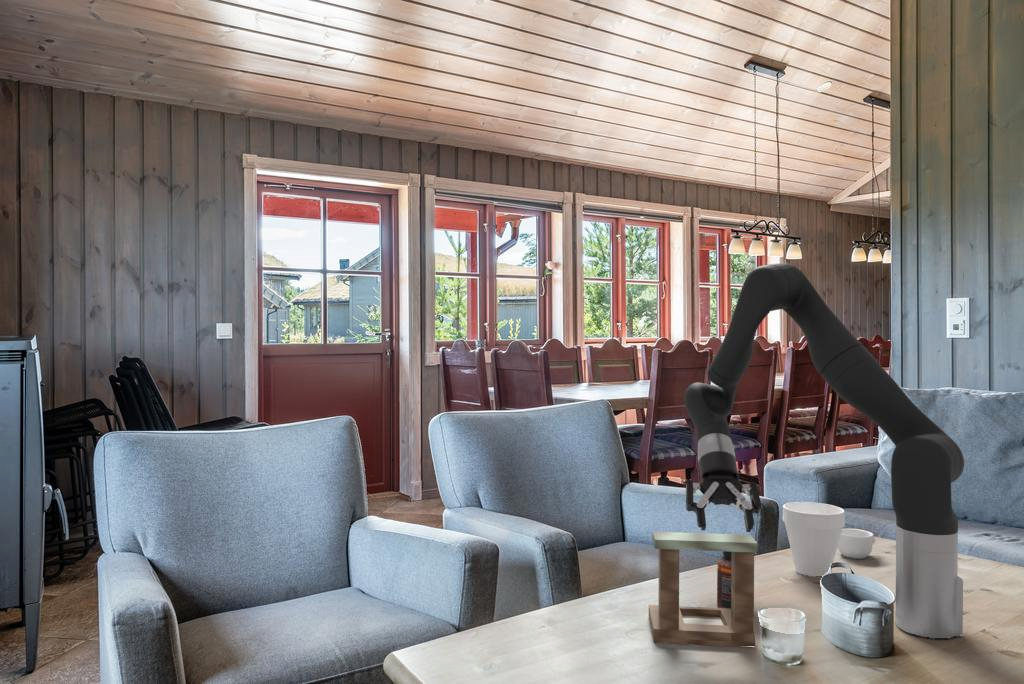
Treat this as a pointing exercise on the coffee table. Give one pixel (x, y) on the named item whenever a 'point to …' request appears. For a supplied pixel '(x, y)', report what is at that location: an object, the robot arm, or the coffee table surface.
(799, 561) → the white flower pot
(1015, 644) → the coffee table surface
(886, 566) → the coffee table surface
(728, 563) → the supplement bottle
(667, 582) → the socket stand
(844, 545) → the teacup
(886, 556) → the coffee table surface
